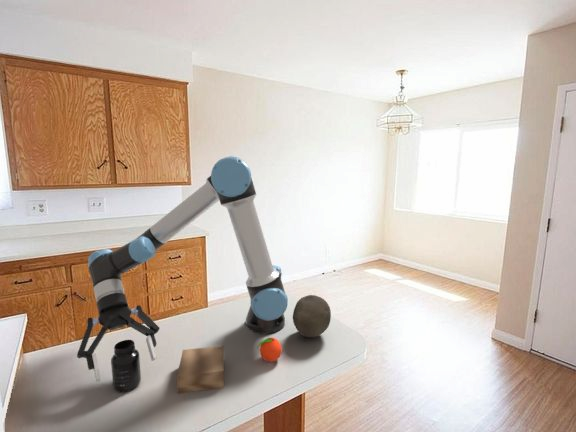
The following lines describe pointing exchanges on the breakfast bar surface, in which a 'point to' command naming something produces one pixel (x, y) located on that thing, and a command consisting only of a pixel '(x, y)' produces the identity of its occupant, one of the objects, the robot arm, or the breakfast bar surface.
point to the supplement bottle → (125, 366)
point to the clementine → (270, 349)
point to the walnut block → (201, 369)
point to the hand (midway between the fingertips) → (127, 369)
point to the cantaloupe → (311, 316)
